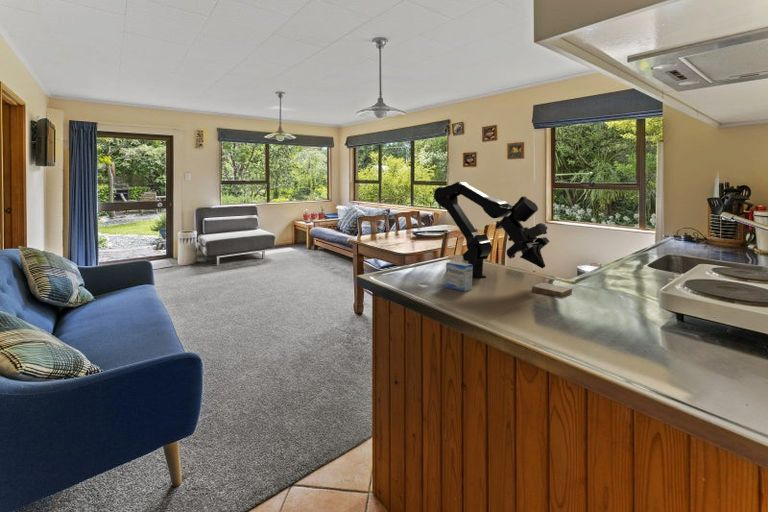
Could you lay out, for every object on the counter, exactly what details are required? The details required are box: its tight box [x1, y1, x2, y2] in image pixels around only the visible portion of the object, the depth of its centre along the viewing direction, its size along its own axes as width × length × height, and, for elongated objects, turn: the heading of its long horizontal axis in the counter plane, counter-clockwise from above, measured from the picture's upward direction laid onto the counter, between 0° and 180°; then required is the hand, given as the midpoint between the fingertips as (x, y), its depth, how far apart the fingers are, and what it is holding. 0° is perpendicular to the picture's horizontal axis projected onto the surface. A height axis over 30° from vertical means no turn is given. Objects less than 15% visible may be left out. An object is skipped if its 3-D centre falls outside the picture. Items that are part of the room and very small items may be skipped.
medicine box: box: [444, 261, 473, 292], centre depth 137 cm, size 8×4×9 cm, turn 47°
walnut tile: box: [531, 282, 573, 298], centre depth 133 cm, size 2×7×10 cm
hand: (543, 267), depth 134 cm, fingers closed
